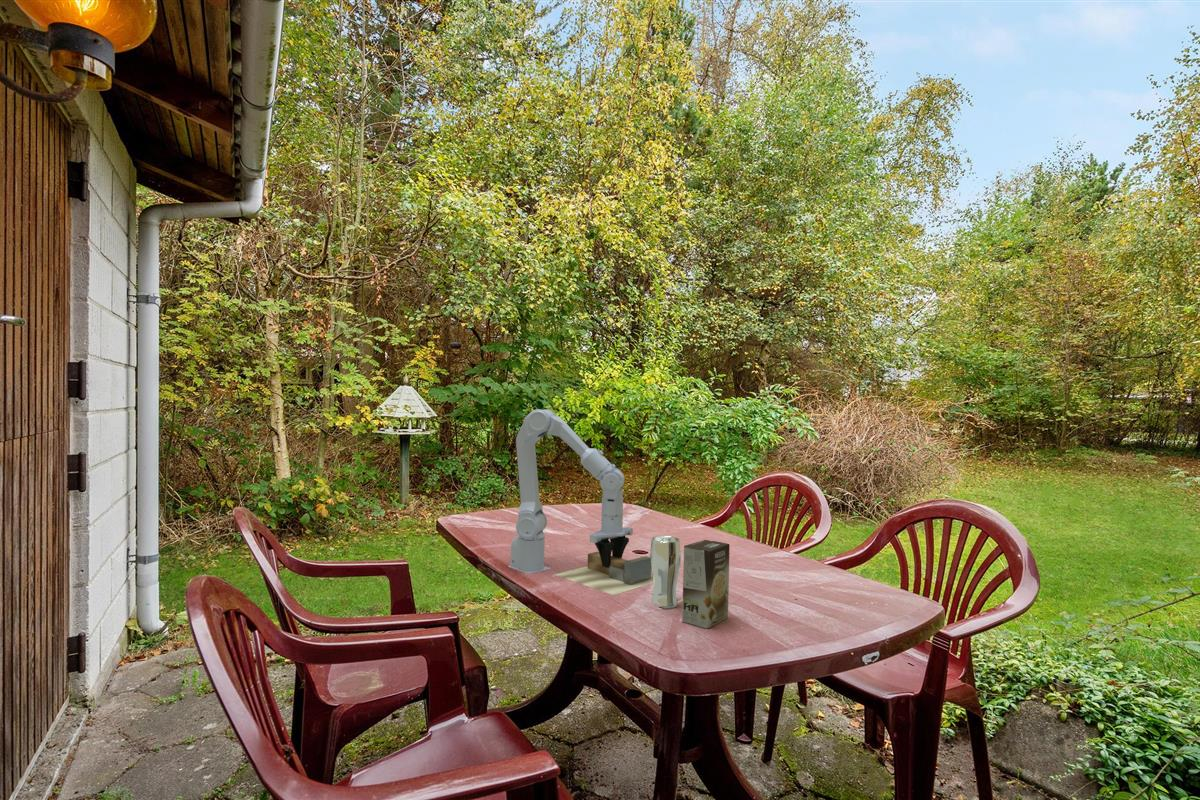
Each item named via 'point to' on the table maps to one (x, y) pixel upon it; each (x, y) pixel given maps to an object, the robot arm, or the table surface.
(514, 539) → the robot arm
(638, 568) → the bracket
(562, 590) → the table surface
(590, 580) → the board
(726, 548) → the coffee box
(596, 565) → the brown wooden block
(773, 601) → the table surface
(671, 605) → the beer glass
